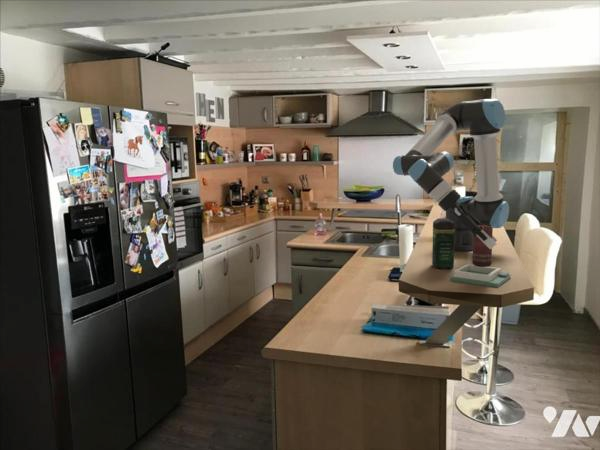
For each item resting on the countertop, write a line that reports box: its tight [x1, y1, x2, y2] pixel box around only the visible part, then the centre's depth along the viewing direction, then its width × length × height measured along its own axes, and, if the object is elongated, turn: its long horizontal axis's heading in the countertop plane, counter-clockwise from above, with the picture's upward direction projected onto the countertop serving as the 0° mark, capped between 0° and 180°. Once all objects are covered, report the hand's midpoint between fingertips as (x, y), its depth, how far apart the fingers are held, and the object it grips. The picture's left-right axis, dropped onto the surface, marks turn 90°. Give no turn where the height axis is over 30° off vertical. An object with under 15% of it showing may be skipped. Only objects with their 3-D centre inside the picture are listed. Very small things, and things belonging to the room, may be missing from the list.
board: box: [449, 264, 511, 288], centre depth 169 cm, size 14×16×3 cm
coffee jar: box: [431, 217, 455, 270], centre depth 188 cm, size 10×8×19 cm
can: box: [472, 224, 494, 267], centre depth 168 cm, size 6×6×14 cm
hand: (493, 244), depth 166 cm, fingers closed on can, 6 cm apart
